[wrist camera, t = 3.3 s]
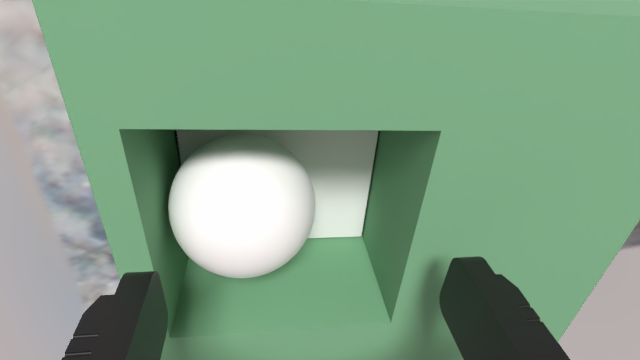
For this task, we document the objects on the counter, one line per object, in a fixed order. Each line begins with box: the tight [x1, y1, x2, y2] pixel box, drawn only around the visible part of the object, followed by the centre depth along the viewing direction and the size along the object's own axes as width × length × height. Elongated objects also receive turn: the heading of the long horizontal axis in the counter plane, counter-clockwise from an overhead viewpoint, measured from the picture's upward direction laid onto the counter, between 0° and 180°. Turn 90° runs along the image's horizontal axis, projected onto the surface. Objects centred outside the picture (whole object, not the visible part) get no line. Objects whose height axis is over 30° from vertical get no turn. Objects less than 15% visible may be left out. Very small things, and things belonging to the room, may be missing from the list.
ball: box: [168, 134, 315, 278], centre depth 13 cm, size 5×5×5 cm
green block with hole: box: [32, 0, 640, 360], centre depth 14 cm, size 17×14×5 cm
